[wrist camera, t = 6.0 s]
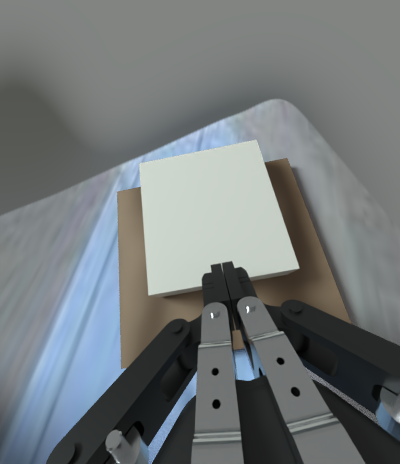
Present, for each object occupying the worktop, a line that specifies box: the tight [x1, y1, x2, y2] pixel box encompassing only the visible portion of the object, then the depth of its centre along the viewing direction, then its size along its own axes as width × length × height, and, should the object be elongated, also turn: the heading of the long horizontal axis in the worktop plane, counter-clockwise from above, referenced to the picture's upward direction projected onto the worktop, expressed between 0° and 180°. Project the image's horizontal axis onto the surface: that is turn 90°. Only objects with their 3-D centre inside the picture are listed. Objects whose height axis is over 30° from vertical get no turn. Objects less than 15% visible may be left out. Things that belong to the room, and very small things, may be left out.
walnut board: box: [117, 158, 351, 369], centre depth 22 cm, size 20×18×2 cm
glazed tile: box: [139, 140, 300, 297], centre depth 20 cm, size 12×4×13 cm
